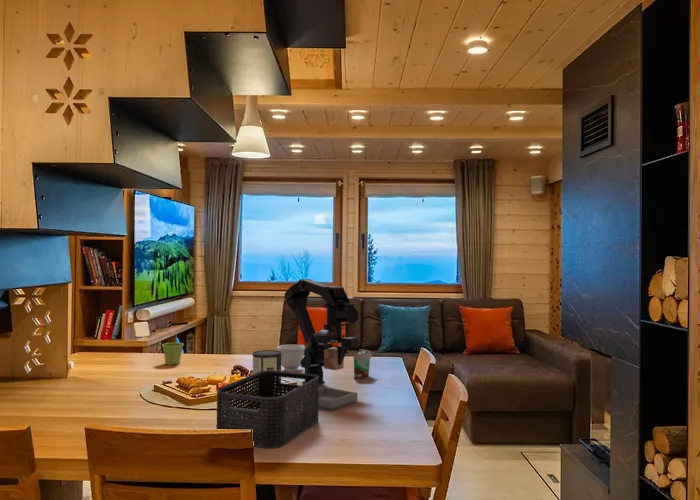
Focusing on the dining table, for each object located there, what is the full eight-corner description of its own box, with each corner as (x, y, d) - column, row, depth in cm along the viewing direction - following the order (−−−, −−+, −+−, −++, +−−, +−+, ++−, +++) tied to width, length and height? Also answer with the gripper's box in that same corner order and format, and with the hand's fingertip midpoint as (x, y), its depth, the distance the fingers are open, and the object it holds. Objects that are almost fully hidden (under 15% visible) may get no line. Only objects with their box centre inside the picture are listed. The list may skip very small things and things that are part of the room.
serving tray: (297, 403, 182) (297, 394, 182) (324, 395, 193) (324, 386, 193) (331, 410, 173) (331, 401, 173) (357, 401, 185) (357, 392, 185)
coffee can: (268, 387, 204) (269, 348, 204) (287, 392, 197) (287, 352, 197) (245, 392, 197) (246, 352, 197) (264, 397, 190) (264, 355, 190)
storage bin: (277, 451, 138) (277, 397, 138) (210, 441, 144) (211, 389, 144) (322, 420, 164) (322, 374, 165) (264, 413, 171) (264, 369, 171)
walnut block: (324, 368, 202) (324, 349, 202) (332, 366, 206) (332, 347, 206) (335, 370, 199) (335, 350, 199) (343, 368, 203) (343, 348, 203)
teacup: (314, 368, 239) (315, 345, 240) (293, 374, 227) (293, 349, 227) (292, 365, 246) (293, 342, 246) (270, 370, 233) (271, 347, 234)
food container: (368, 380, 218) (369, 354, 218) (353, 379, 219) (353, 353, 219) (373, 373, 230) (374, 349, 230) (359, 373, 231) (359, 348, 231)
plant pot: (179, 366, 242) (180, 346, 242) (158, 365, 242) (158, 345, 242) (186, 362, 251) (186, 342, 251) (165, 361, 251) (165, 342, 252)
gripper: (300, 320, 201) (299, 364, 201) (341, 324, 190) (341, 370, 190) (319, 318, 210) (319, 359, 210) (360, 322, 199) (359, 365, 199)
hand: (333, 363), depth 202 cm, fingers closed on walnut block, 5 cm apart
